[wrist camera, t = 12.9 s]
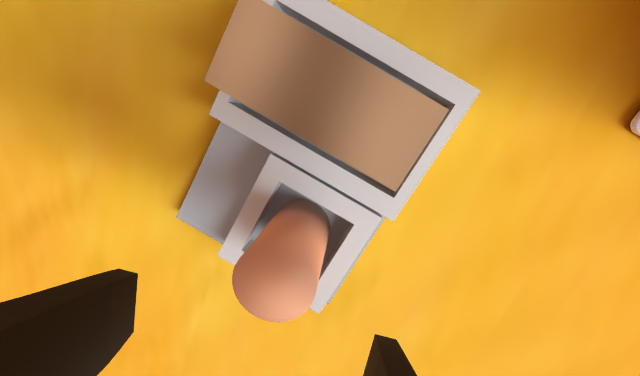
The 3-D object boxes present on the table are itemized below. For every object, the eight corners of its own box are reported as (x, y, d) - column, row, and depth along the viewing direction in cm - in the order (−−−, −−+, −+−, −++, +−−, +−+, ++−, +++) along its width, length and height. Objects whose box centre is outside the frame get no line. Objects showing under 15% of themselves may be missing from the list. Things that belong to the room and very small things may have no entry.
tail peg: (341, 225, 18) (333, 283, 12) (305, 263, 19) (279, 337, 12) (298, 188, 18) (267, 226, 11) (263, 227, 18) (216, 284, 12)
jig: (461, 95, 16) (480, 90, 14) (329, 297, 20) (325, 323, 17) (286, -8, 16) (273, -31, 14) (183, 213, 20) (157, 227, 17)
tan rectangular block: (420, 112, 16) (449, 109, 11) (383, 169, 17) (395, 191, 12) (278, 29, 16) (242, -11, 11) (249, 91, 17) (203, 80, 12)
